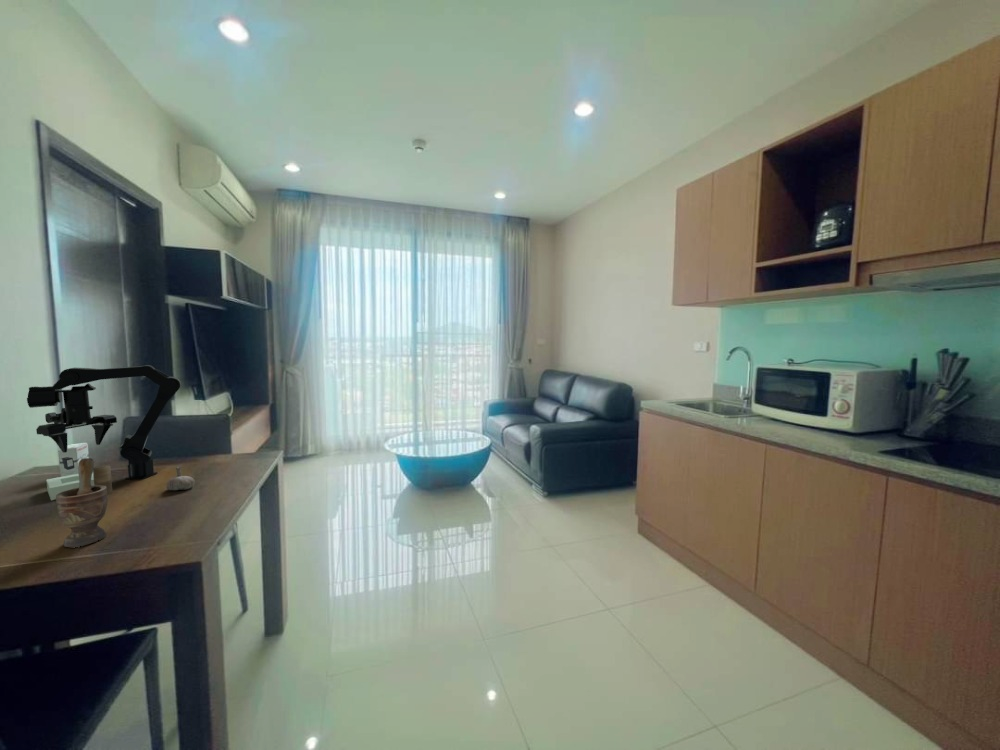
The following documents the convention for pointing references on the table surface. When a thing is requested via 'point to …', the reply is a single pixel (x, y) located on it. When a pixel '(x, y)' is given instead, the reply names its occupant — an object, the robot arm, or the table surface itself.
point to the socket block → (63, 484)
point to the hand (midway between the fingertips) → (82, 448)
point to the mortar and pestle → (83, 508)
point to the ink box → (72, 458)
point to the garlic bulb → (180, 482)
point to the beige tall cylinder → (103, 477)
